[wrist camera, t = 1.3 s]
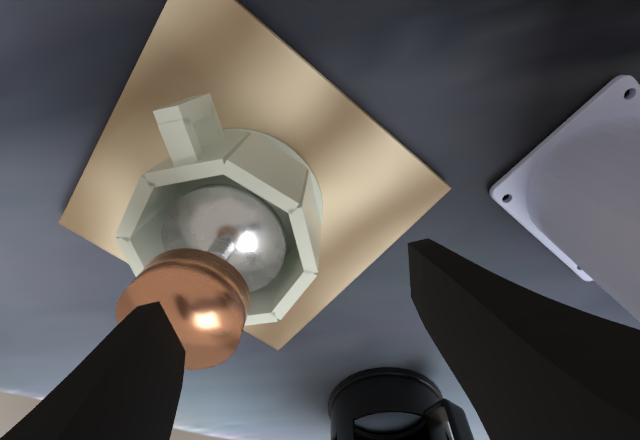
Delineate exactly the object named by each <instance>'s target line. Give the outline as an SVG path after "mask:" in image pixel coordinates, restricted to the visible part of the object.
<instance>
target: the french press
mask: <svg viewBox="0 0 640 440" xmlns="http://www.w3.org/2000/svg"><path fill="white" fill-rule="evenodd" d="M328 412H329V417H330V419H331V440H452V437H451V433H450V430H449V427H448V423H447V421H449V423H450V427H451V430H452V433H453V437H454V440H474V438H473V435H472V432H471V429H470V427H469V424H468V421H467V418H466V415H465V413H464V411H463V409H462V408H460V407H459V406H457V405H455V404H454V403H452V402H450V401H449V400H447V399H443V397H442V395H441V392H440V390H439V389H438V388H437V387H436V385H435V384H434V383H433V382H431V381H430V380H429V379H427V378H426V377H424V376H422V375H420V374H418V373H415V372H412V371H409V370H405V369H398V368H377V369H370V370H366V371H363V372H359V373H357V374H355V375H352V376H350V377H348V378H347V379H345V380H344V381H342V382H341V383H340V384H339V385H338V386H337V387H336V388H335V389H334V391H333V392H332V394H331V396H330V399H329V403H328ZM384 412H403V413H410V414H415V415H418V416H422V417H424V420H423V421H422V422H421V423H420V424H419V425H418V426H417V427H415V428H413V429H411V430H409V431H406V432H404V433H400V434H395V435H375V434H370V433H366V432H363V431H361V430H359V429H357V428H355V425H354V420H356V419H359V418H361V417H364V416H367V415H371V414H375V413H384Z"/></svg>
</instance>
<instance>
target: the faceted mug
mask: <svg viewBox="0 0 640 440" xmlns="http://www.w3.org/2000/svg"><path fill="white" fill-rule="evenodd" d="M153 114H154V116H155V119H156V121H157V124H158V128H159V130H160V133H161V135H162V138H163V140H164V142H165V145H166V147H167V150H168V152H169V155H170V156H169V157H168V158H166V159H165V160H163V161H162V162H160V163H159V164H157V165H156V166H154V167H153V168H152V169H150V170H149V171H147V172H146V173H144V174H143V175H142V176H140V179H139V181H138V183H137V186H136V188H135V190H134V192H133V195H132V197H131V199H130V202H129V204H128V206H127V208H126V211H125V213H124V215H123V218H122V220H121V222H120V224H119V227H118V229H117V231H116V234H115V235H116V236H118V237H117V238H115V239H116V241H117V243H118V245H119V247H120V248H121V250H122V252H123V254H124V256H125V258H126V260H127V261H128V263H129V265H130V267H131V269H132V271H133V272H134V274H135V276H136V277H137V276H138V275H139V274H140V272H141V271H142V270H143V269H144V268H145V267H146V265H147V264H148V263H149V262H150V261H151V260H152V259H153V258H155V257H156V256H157V255H159V254H161V253H163V252H165V250H164V248H163V244H162V237H161V230H162V224H163V220H164V218H165V215H166V213H167V212H168V210H169V208H170V207H171V206H172V205H173V204H174V203H175V202H176V201H177V200H178V199H179V198H180V197H181V196H182V195H183V194H185V193H186V192H188V191H190V190H191V189H193V188H196V187H198V186H202V185H206V184H214V183H222V184H230V185H235V186H239V187H242V188H244V189H247V190H249V191H251V192H253V193H255V194H256V195H258V196H259V197H261V198H262V199H263V200H265V201H266V202H267V203H268V204H269V205H270V206H271V207H272V208H273V209H274V210H275V212H276V213H277V215H278V216H279V218H280V220H281V222H282V224H283V227H284V229H285V234H286V252H285V256H284V260H283V264H282V266H281V268H280V270H279V272H278V273H277V275H276V276H275V277H274V278H273V280H272V281H270V282H269V283H268V284H267V285H265V286H264V287H262V288H260V289H258V290H256V291H253V292H250V296H251V305H250V310H249V313H248V316H247V319H246V322H245V325H244V326H247V325H255V324H263V323H271V322H278V319H279V320H281V319H282V318H283V317H284V315H285V314H286V313H287V312H288V311H289V309H290V308H291V307H292V306H293V305H294V303H295V302H296V301H297V300H298V298H299V297H300V296H301V295H302V294H303V292H304V291H305V290H306V289H307V288H308V286H309V285H310V284H311V283H312V281H313V280H314V279H315V278H316V277H317V273H318V267H319V253H320V240H321V226H322V218H323V200H322V193H321V190H320V186H319V183H318V181H317V179H316V177H315V174H314V173H313V171H312V170H311V168H310V166H309V165H308V164H307V162H306V161H305V160H304V159H303V157H302V156H301V155H299V154H298V153H297V152H296V151H295V150H294V149H293V148H292V147H290V146H289V145H288V144H286V143H285V142H283V141H281V140H280V139H278V138H276V137H274V136H272V135H269V134H267V133H264V132H261V131H257V130H253V129H246V128H225V129H222V127H221V124H220V120H219V117H218V114H217V111H216V108H215V105H214V103H213V100H212V97H211V94H210V93H207V94H202V95H198V96H193V97H189V98H186V99H183V100H181V101H178V102H175V103H173V104H170V105H167V106H164V107H162V108H159V109H156V110H154V111H153ZM193 125H194V127H193ZM194 128H195V130H194ZM195 131H196V132H195ZM196 134H197V135H196ZM197 137H198V138H197Z"/></svg>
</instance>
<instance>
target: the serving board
mask: <svg viewBox="0 0 640 440" xmlns="http://www.w3.org/2000/svg"><path fill="white" fill-rule="evenodd" d="M207 93H210V94H211V97H212V100H213V103H214V105H215V108H216V111H217V114H218V117H219V120H220V124H221V127H222V129H225V128H246V129H253V130H257V131H261V132H264V133H267V134H269V135H272V136H274V137H276V138H278V139H280V140H281V141H283V142H285V143H286V144H288V145H289V146H290V147H292V148H293V149H294V150H295V151H296V152H297V153H298V154H299V155H301V156H302V157H303V159H304V160H305V161H306V162H307V164H308V165H309V166H310V168H311V170H312V171H313V173H314V174H315V177H316V179H317V181H318V183H319V186H320V190H321V193H322V200H323V218H322V226H321V240H320V253H319V267H318V273H317V277H316V278H315V279H314V280H313V281H312V283H311V284H310V285H309V286H308V288H307V289H306V290H305V291H304V292H303V294H302V295H301V296H300V297H299V298H298V300H297V301H296V302H295V303H294V305H293V306H292V307H291V308H290V309H289V311H288V312H287V313H286V314H285V315H284V317H283V318H282V319H281V320H279V319H278V322H271V323H263V324H255V325H247V326H244V328H243V330H244V331H246V332H248V333H249V334H251V335H253V336H254V337H256V338H258V339H260V340H261V341H263V342H265V343H267V344H268V345H270V346H272V347H274V348H275V349H277V350H279V349H281V348H282V347H283V346H284V345H285V344H286V343H287V342H288V341H289V340H290V339H291V338H292V337H293V336H294V335H296V334H297V333H298V332H299V331H300V330H301V329H302V328H303V327H304V326H305V325H306V324H307V323H308V322H309V321H310V320H312V319H313V318H314V317H315V316H316V315H317V314H318V313H319V312H320V311H321V310H322V309H323V308H324V307H325V306H327V305H328V304H329V303H330V302H331V301H332V300H333V299H334V298H335V297H336V296H337V295H338V294H339V293H340V292H341V291H343V290H344V289H345V288H346V287H347V286H348V285H349V284H350V283H351V282H352V281H353V280H354V279H355V278H356V277H358V276H359V275H360V274H361V273H362V272H363V271H364V270H365V269H366V268H367V267H368V266H369V265H370V264H371V263H372V262H374V261H375V260H376V259H377V258H378V257H379V256H380V255H381V254H382V253H383V252H384V251H385V250H386V249H387V248H388V247H390V246H391V245H392V244H393V243H394V242H395V241H396V240H397V239H398V238H399V237H400V236H401V235H402V234H403V233H405V232H406V231H407V230H408V229H409V228H410V227H411V226H412V225H413V224H414V223H415V222H416V221H417V220H418V219H419V218H421V217H422V216H423V215H424V214H425V213H426V212H427V211H428V210H429V209H430V208H431V207H432V206H433V205H434V204H436V203H437V202H438V201H439V200H440V199H441V198H442V197H443V196H444V195H445V194H446V193H447V192H448V191H449V190H450V189H451V188H450V186H449V185H448V184H447V183H446V182H445V181H444V180H443V179H442V178H441V177H440V176H438V175H437V174H436V173H435V172H434V171H433V170H432V169H430V168H429V167H428V166H427V165H426V164H425V163H423V162H422V161H421V160H420V159H419V158H418V157H417V156H415V155H414V154H413V153H412V152H411V151H410V150H408V149H407V148H406V147H405V146H404V145H403V144H402V143H400V142H399V141H398V140H397V139H396V138H395V137H394V136H392V135H391V134H390V133H389V132H388V131H387V130H385V129H384V128H383V127H382V126H381V125H380V124H379V123H377V122H376V121H375V120H374V119H373V118H372V117H371V116H369V115H368V114H367V113H366V112H365V111H364V110H362V109H361V108H360V107H359V106H358V105H357V104H356V103H354V102H353V101H352V100H351V99H350V98H349V97H347V96H346V95H345V94H344V93H343V92H342V91H341V90H339V89H338V88H337V87H336V86H335V85H334V84H333V83H331V82H330V81H329V80H328V79H327V78H326V77H324V76H323V75H322V74H321V73H320V72H319V71H318V70H316V69H315V68H314V67H313V66H312V65H311V64H309V63H308V62H307V61H306V60H305V59H304V58H303V57H301V56H300V55H299V54H298V53H297V52H296V51H295V50H293V49H292V48H291V47H290V46H289V45H288V44H286V43H285V42H284V41H283V40H282V39H281V38H280V37H278V36H277V35H276V34H275V33H274V32H273V31H272V30H270V29H269V28H268V27H267V26H266V25H265V24H263V23H262V22H261V21H260V20H259V19H258V18H257V17H255V16H254V15H253V14H252V13H251V12H250V11H248V10H247V9H246V8H245V7H244V6H243V5H242V4H240V3H239V2H238V1H237V0H167V2H166V4H165V6H164V8H163V10H162V12H161V15H160V17H159V19H158V21H157V23H156V25H155V27H154V29H153V31H152V33H151V35H150V37H149V39H148V41H147V43H146V45H145V47H144V49H143V51H142V53H141V55H140V57H139V60H138V62H137V64H136V66H135V68H134V70H133V72H132V74H131V76H130V78H129V80H128V82H127V84H126V86H125V88H124V90H123V92H122V94H121V96H120V98H119V100H118V102H117V105H116V107H115V109H114V111H113V113H112V115H111V117H110V119H109V121H108V123H107V125H106V127H105V129H104V131H103V133H102V135H101V137H100V139H99V141H98V143H97V145H96V147H95V150H94V152H93V154H92V156H91V158H90V160H89V162H88V164H87V166H86V168H85V170H84V172H83V174H82V176H81V178H80V180H79V182H78V184H77V186H76V188H75V190H74V192H73V195H72V197H71V199H70V201H69V203H68V205H67V207H66V209H65V211H64V213H63V215H62V217H61V219H60V221H59V224H61V225H62V226H64V227H66V228H68V229H69V230H71V231H73V232H75V233H76V234H78V235H80V236H81V237H83V238H85V239H87V240H88V241H90V242H92V243H94V244H95V245H97V246H99V247H101V248H102V249H104V250H106V251H107V252H109V253H111V254H113V255H114V256H116V257H118V258H120V259H121V260H123V261H125V262H126V263H128V261H127V260H126V258H125V256H124V254H123V252H122V250H121V248H120V247H119V245H118V243H117V241H116V239H115V238H117V237H118V236H116V235H115V234H116V231H117V229H118V227H119V224H120V222H121V220H122V218H123V215H124V213H125V211H126V208H127V206H128V204H129V202H130V199H131V197H132V195H133V192H134V190H135V188H136V186H137V183H138V181H139V179H140V176H142V175H143V174H144V173H146V172H147V171H149V170H150V169H152V168H153V167H154V166H156V165H157V164H159V163H160V162H162V161H163V160H165V159H166V158H168V157H169V156H170V155H169V152H168V150H167V147H166V145H165V142H164V140H163V138H162V135H161V133H160V130H159V128H158V124H157V121H156V119H155V116H154V114H153V111H154V110H156V109H159V108H162V107H164V106H167V105H170V104H173V103H175V102H178V101H181V100H183V99H186V98H189V97H193V96H198V95H202V94H207ZM193 127H194V125H193ZM194 130H195V128H194ZM195 132H196V131H195ZM196 135H197V134H196ZM197 138H198V137H197ZM128 264H129V263H128Z"/></svg>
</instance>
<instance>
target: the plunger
mask: <svg viewBox="0 0 640 440" xmlns="http://www.w3.org/2000/svg"><path fill="white" fill-rule="evenodd" d="M161 237H162V244H163V248H164V250H165V252H163V253H161V254H159V255H157V256H156V257H155V258H153V259H152V260H151V261H150V262H149V263H148V264H147V265H146V267H145V268H144V269H143V270H142V271H141V272H140V274H139V275H138V276H137V277H136V278H135V279H134V281H133V282H132V283H131V284H130V285H129V287H128V288H127V289H126V290H125V291H124V292H123V294H122V295H121V297H120V298H119V301H118V303H117V307H116V319H117V323H118V324H119V323H120V322H121V321H122V320H123V319H124V318H125V317H126V316H127V315H128V314H129V313H130V312H131V311H133V310H134V309H135V308H136V307H137V306H140V305H144V304H149V303H153V302H157V301H159V302H160V304H161V305H162V307H163V309H164V311H165V313H166V315H167V317H168V319H169V321H170V323H171V324H172V326H173V328H174V330H175V332H176V334H177V336H178V338H179V340H180V341H181V343H182V345H183V347H184V349H185V351H186V354H185V365H184V369H189V370H195V369H205V368H209V367H213V366H216V365H218V364H220V363H222V362H224V361H225V360H227V359H228V358H229V357H230V356H231V355H232V354H233V353H234V351H235V350H236V348H237V346H238V344H239V341H240V338H241V334H242V331H243V328H244V325H245V322H246V319H247V316H248V313H249V310H250V305H251V296H250V292H253V291H256V290H258V289H260V288H262V287H264V286H265V285H267V284H268V283H269V282H270V281H272V280H273V278H274V277H275V276H276V275H277V273H278V272H279V270H280V268H281V266H282V264H283V260H284V256H285V252H286V234H285V229H284V227H283V224H282V222H281V220H280V218H279V216H278V215H277V213H276V212H275V210H274V209H273V208H272V207H271V206H270V205H269V204H268V203H267V202H266V201H265V200H263V199H262V198H261V197H259V196H258V195H256V194H255V193H253V192H251V191H249V190H247V189H244V188H242V187H239V186H235V185H230V184H222V183H214V184H206V185H202V186H198V187H196V188H193V189H191V190H190V191H188V192H186V193H185V194H183V195H182V196H181V197H180V198H179V199H178V200H177V201H176V202H175V203H174V204H173V205H172V206H171V207H170V208H169V210H168V212H167V213H166V215H165V218H164V220H163V224H162V230H161Z"/></svg>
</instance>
